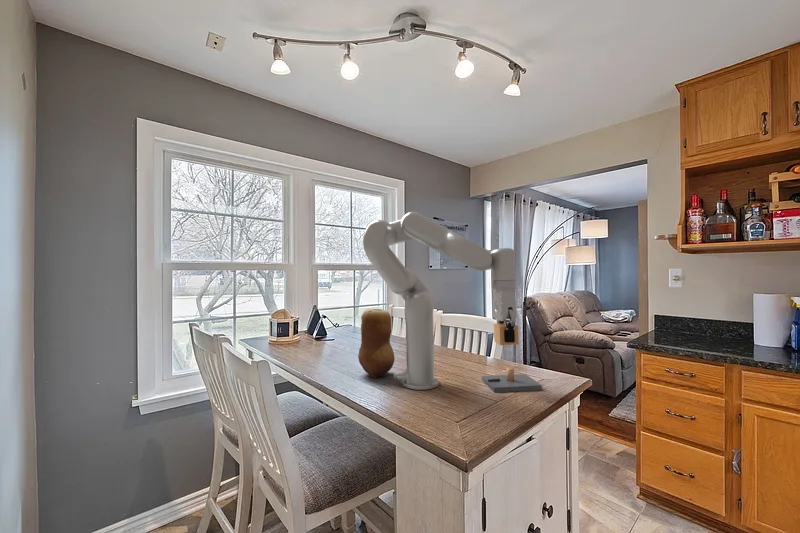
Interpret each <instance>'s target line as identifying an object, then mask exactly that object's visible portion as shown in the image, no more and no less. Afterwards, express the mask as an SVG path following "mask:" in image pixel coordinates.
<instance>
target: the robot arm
mask: <svg viewBox="0 0 800 533" xmlns="http://www.w3.org/2000/svg"><path fill="white" fill-rule="evenodd" d="M362 238H363V239H362V245H363V250H364V252H365V256H366V258H367V259H368V260H369V262H370V263H371V265H372V266H373V267H374V268H375V270H376V271H377V273H378V274H379V276H380V277H381V278H382V280H383V281H384V282H385V285H387V287H388V288H389V289H390V291H391V292H393V293H394V294H396V295H400V297H401V298H402V299H403V300H404V302H405V304H404V320H405V321H404V322H405V341H406V342H405V344H406V345H405V346H406V352H405V353H406V368H404V371H402V372H393V379H397V380H398V381H400V380H402V383H401V384H402V386H404V388H407V389H411V390H416V391H417V390H419V391H420V390H421V391H423V390H426V391H427V390H430V389H434V388H436V387H438V386H439V384H440V380H439V379H438V378H437V377H435V341H434V340H435V339H434V338H435V336H434V309H435V307H436V300H435V298H434V296H433V294H432V293H431V292H430V291H429V289H428V288H427V286H426V285H425V284H424V282H422V280H421V279H420V277H419V276H418V275H417V273H415V272H414V271H413V270H412V269H410V268H409V267H406V266H404V264H403V263H402V262H401V261H400V259H399V258H398V257H397V255H396V254H395V253H394V251H393V250H392V249H391V247H390V246H393V245H397V244H400V243H405V242H408V241H412V240H415V241H417V242H419V243H421V244H423V245H425V246H426V247H428V248H431V249H432V250H434V251H436V252H438V253H440V254H443V255H444V256H445V255H446V256H448V257H450V258H452V259H454V260H456V261H458V262H459V263H461V264H462V265H465V266H467V267H468V268H471V269H473V271H477V272H484V271H487V270H488V271H489V270H491V281H492V283H491V285H492V286H491V287H492V288H491V289H492V291H493V292H492V293H493V294H492V317H493V318H494V319H495V320H496V324H500V323H504V324H505V330H504V340H505V342H506V343H509V342H515V331H514V330H515V325H516V322H517V303H516V302H517V301H516V293H515V291H516V290H517V279H516V278H517V277H516V255H515V254H516V253H515V250H514V249H513V248H510V247H506V248H505V247H504V248H503V247H502V248H501V247H500V248H495V249H487V248H486V247H483V246H481V245H479V244H477V243H475V242H474V241H472V240H470V239H467V238H466V237H464V236H462V235H460V234H458V233H456V232H455V231H453V230H451V229H449V228H448V227H446V226H444V225H441V224H440V223H437V222H436V221H434V220H432V219H430V218H429V217H426V216H425V215H423V214H421V213H419V212H416V211H409V212H407V213H405V214H404V216H402V218H401V219H398V220H395V221H391V222H388V221H385V220H383V219H375V220H372V221H371V222H370V223H369V224H368V225H367V227H366V229H365V230H364V233H363V237H362ZM507 323H508V325H507Z"/></svg>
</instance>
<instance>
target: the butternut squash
mask: <svg viewBox="0 0 800 533" xmlns="http://www.w3.org/2000/svg"><path fill="white" fill-rule="evenodd" d="M360 323H361V324H360V334H361V336H360V337H361V338H360V341H361V342H360V347H359V350H358V362H359V364H360V366H361V367H362V369H363V371H365V373H366V374H368V375H369V376H370V377H371V376H372V378H375V377H376V378H379V377H382V376H384V375H386V374H387V373H388V372H390V371H391V369H392V368H393V366H394V363H395V353H394V350H393V347H392V345H391V341H390V340H391V335H392V317H391V314H390V313H389V311H387V310H385V309H383V308H367V309H365V310H364V311H363V313H362V315H361V322H360Z"/></svg>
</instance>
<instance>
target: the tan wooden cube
mask: <svg viewBox="0 0 800 533" xmlns="http://www.w3.org/2000/svg"><path fill="white" fill-rule="evenodd" d="M508 323H509V322H508ZM508 323H507V325H508ZM504 330H505V324H504V323H500V324H497V323H493V339H494V340H493V341H494V342H495V343H496V344H498V345H499V346H512V345H513V346H514V345H519V343H520V342H519V326H518V325H517V324H515V330H514V331H515V342H509V343H506V342H505V340H504Z"/></svg>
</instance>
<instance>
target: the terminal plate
mask: <svg viewBox="0 0 800 533" xmlns="http://www.w3.org/2000/svg"><path fill="white" fill-rule="evenodd" d="M481 381H482V382H483V383H484V384H485V385H486V386H487V387H488V388H489V389H490V390H491V391H492V392H493V393H505V392H506V391H510V392H528V391H542V390H543V386H542V384H540V383H539V382H538V381H536V380H535V379H534V378H532V377H530V376H529V375H528V374H525V373H522V374H521V373H520V374H515V368H513V367H506V374H498V375H497V374H496V375H481Z"/></svg>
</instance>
